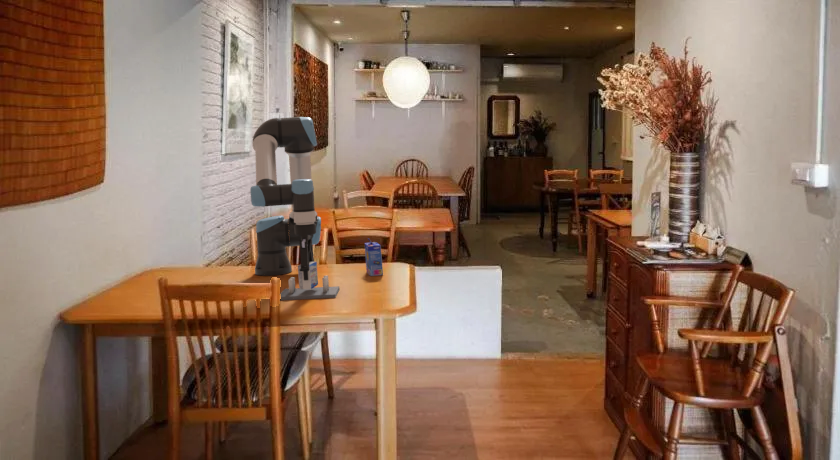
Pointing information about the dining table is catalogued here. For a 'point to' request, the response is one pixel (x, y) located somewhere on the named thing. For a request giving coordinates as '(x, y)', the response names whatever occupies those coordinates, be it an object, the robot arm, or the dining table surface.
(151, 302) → the dining table surface
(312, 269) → the medicine box
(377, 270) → the ink cartridge box
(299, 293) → the cradle
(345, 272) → the dining table surface
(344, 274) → the dining table surface
